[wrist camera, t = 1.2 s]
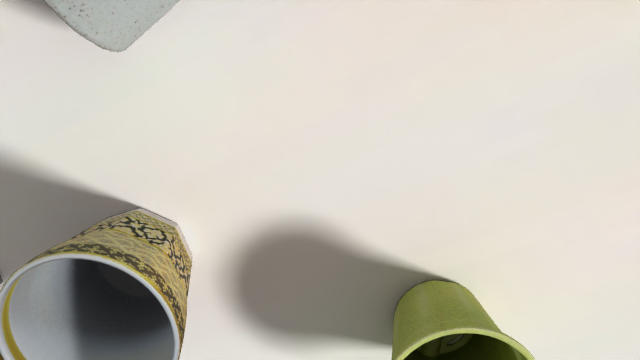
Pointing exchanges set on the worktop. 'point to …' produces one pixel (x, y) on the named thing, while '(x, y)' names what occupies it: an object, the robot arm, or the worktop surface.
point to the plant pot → (448, 327)
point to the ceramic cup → (101, 295)
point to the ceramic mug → (111, 19)
